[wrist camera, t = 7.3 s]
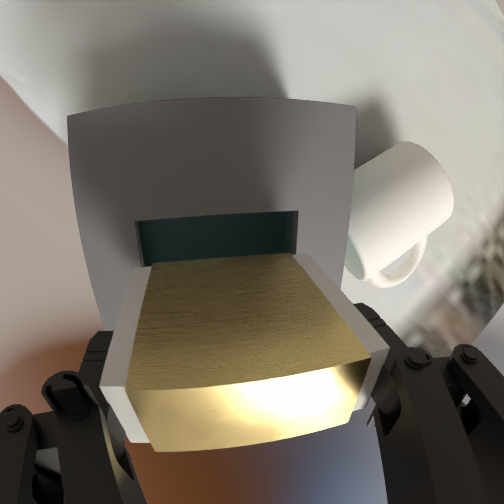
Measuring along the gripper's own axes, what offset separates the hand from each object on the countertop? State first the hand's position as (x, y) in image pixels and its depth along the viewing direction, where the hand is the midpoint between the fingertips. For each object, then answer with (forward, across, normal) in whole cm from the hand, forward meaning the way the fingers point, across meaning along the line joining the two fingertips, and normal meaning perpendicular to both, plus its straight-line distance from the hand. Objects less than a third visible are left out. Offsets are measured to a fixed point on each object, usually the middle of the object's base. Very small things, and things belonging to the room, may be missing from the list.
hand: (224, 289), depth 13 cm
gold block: (0, 0, 0) cm, 0 cm away
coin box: (+12, 0, 0) cm, 12 cm away
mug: (+13, +15, -1) cm, 20 cm away
